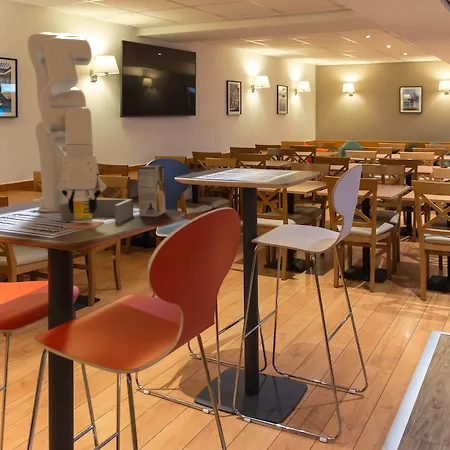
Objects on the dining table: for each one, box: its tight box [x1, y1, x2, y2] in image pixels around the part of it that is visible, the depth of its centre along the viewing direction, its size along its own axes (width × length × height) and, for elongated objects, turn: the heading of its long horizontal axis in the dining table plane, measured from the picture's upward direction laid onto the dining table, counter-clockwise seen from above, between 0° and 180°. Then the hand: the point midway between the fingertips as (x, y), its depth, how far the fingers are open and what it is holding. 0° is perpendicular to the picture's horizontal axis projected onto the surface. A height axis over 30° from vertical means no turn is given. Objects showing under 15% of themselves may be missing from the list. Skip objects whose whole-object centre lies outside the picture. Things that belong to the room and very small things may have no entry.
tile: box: [63, 220, 105, 229], centre depth 173 cm, size 9×9×1 cm
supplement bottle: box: [73, 190, 94, 223], centre depth 173 cm, size 5×5×10 cm
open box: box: [59, 198, 134, 224], centre depth 185 cm, size 18×15×6 cm
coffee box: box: [137, 164, 167, 218], centre depth 193 cm, size 9×6×16 cm
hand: (83, 211), depth 173 cm, fingers closed on supplement bottle, 5 cm apart
